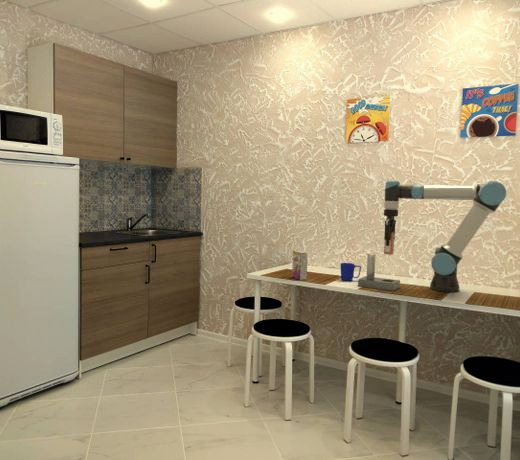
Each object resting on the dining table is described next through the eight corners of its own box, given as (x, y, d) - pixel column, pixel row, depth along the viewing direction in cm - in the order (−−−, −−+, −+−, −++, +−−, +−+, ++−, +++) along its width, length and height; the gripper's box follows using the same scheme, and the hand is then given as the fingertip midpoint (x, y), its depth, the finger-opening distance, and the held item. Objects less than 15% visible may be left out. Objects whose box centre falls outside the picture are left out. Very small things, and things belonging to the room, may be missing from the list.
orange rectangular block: (393, 254, 255) (394, 232, 254) (391, 254, 252) (392, 232, 251) (386, 253, 257) (387, 232, 256) (383, 254, 254) (385, 232, 253)
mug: (360, 282, 270) (361, 265, 270) (339, 281, 273) (340, 264, 272) (360, 279, 278) (360, 263, 278) (340, 278, 281) (340, 262, 280)
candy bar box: (291, 277, 282) (292, 250, 281) (298, 276, 284) (299, 250, 283) (299, 280, 272) (300, 252, 270) (307, 280, 274) (308, 252, 272)
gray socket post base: (399, 287, 258) (401, 255, 257) (393, 290, 248) (395, 257, 247) (365, 283, 269) (366, 252, 267) (357, 286, 258) (359, 254, 257)
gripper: (388, 208, 262) (386, 249, 263) (379, 208, 247) (377, 252, 249) (402, 209, 258) (399, 250, 259) (393, 209, 243) (391, 253, 245)
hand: (388, 251), depth 254 cm, fingers closed on orange rectangular block, 4 cm apart
